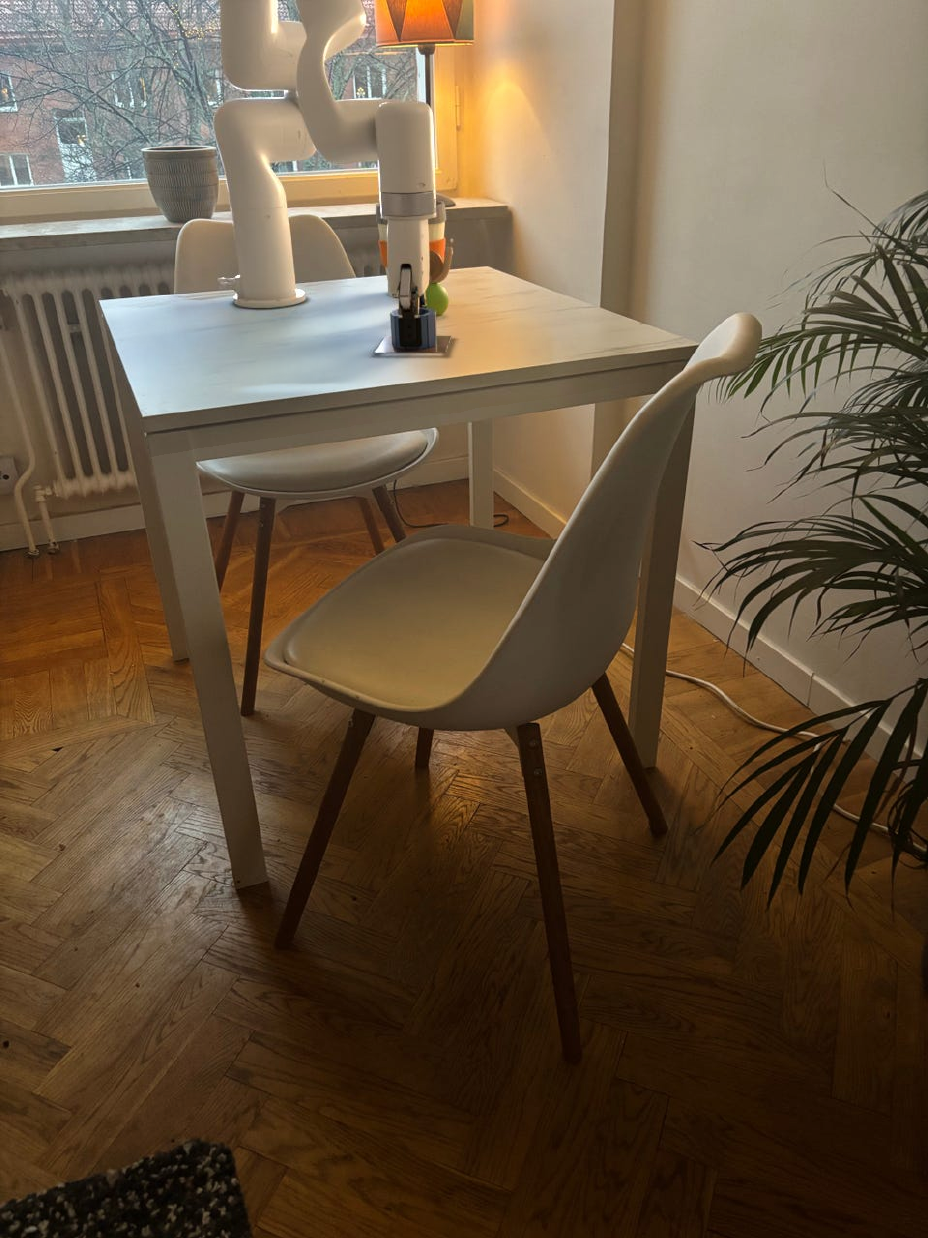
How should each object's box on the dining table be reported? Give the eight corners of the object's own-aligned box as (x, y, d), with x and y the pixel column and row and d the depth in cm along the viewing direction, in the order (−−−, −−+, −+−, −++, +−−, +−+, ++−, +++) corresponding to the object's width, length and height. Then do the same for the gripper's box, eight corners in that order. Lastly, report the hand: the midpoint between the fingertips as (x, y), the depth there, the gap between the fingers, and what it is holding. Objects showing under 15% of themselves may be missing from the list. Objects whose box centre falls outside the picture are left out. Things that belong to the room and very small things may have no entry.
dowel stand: (375, 356, 132) (371, 308, 128) (385, 339, 140) (382, 293, 137) (445, 356, 131) (444, 308, 128) (451, 339, 140) (450, 293, 136)
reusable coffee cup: (447, 299, 165) (445, 207, 157) (376, 300, 165) (370, 208, 158) (449, 285, 176) (447, 198, 168) (383, 287, 176) (377, 200, 169)
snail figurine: (451, 321, 150) (449, 241, 144) (412, 320, 151) (408, 241, 145) (458, 314, 155) (456, 236, 149) (420, 313, 156) (417, 236, 150)
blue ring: (389, 349, 133) (387, 316, 131) (395, 338, 138) (393, 307, 136) (434, 349, 132) (432, 316, 130) (438, 338, 138) (437, 306, 136)
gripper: (389, 198, 134) (396, 326, 143) (370, 213, 119) (379, 355, 128) (442, 198, 133) (445, 326, 142) (428, 213, 118) (433, 355, 127)
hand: (414, 339), depth 135 cm, fingers closed on blue ring, 6 cm apart
